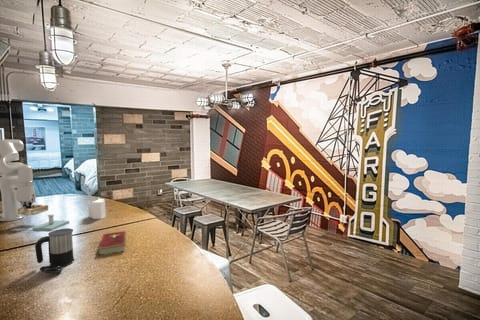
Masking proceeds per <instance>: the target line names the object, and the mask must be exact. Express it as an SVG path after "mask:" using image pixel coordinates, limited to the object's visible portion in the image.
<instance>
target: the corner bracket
mask: <svg viewBox="0 0 480 320" xmlns="http://www.w3.org/2000/svg"><path fill="white" fill-rule="evenodd" d="M106 217H107V214H106V200H105V198H99V199H97V200H94V201H92V202H91V204H90V205H89V206H88V218H92V220H101V219H103V218H106Z"/></svg>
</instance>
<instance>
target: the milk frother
mask: <svg viewBox="0 0 480 320" xmlns="http://www.w3.org/2000/svg"><path fill="white" fill-rule="evenodd" d="M73 231H74V229H73V228H59V229H58V228H57V229H54V230H52V231H49V232H48V233H47V236H43V237H40V238H38V239H37V241H36V243H35V245H34V249H35V255H36V262H37V263H39V264H42V263H43V260H44V257H43V255H44V254H43V249H42V247H43V246H42V244H43V243H48V259H49V260H48V261H49V265H45V266H44V265H43V266H41V267H40V268H39V271H40V272H42V273H46V274H49V275H54V274H55V275H57V274H60V273H61V272H62V271H63V269H62V267H58V266H63V267H65V266H64V265H66V266H68V265H67V264H69V263H71V262H72V261H74V262H75V258H74V247H73V245H74V244H73V242H74V241H73ZM71 264H72V263H71ZM69 265H70V264H69Z"/></svg>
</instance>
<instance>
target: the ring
mask: <svg viewBox="0 0 480 320" xmlns="http://www.w3.org/2000/svg"><path fill="white" fill-rule="evenodd" d="M48 211H49V205H48V204H34V203H32V205H31V209H26V207H23V206H22V207H21V208H19V209H18V214H21V215H24V216H36V215H38V214H41V213H42V214H43V213H44V212H48Z"/></svg>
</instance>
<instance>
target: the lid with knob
mask: <svg viewBox="0 0 480 320" xmlns="http://www.w3.org/2000/svg"><path fill="white" fill-rule="evenodd" d="M54 216H55V214H53V213H52V214H48V215H47V217H48V221H47V222H44V223H41V224H39V225H36V226H33V227H32V230H33V231H47V232H48V231H49V232H51V231H54V230H58V228H59V229H60V228H62V227H63V226H66V225H68V224H70V221H69V220H54Z"/></svg>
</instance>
